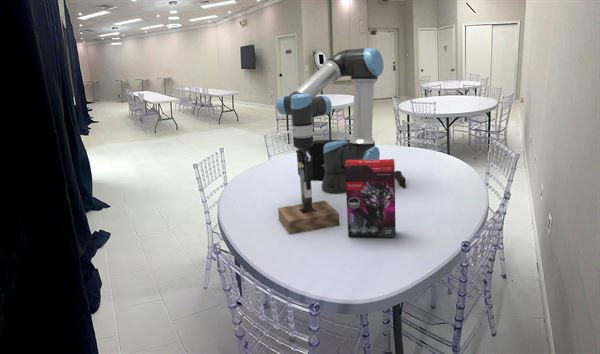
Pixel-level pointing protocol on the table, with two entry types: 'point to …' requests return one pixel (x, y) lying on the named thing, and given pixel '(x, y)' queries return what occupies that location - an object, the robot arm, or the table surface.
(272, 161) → the table surface
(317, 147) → the black hard case
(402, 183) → the hand tool
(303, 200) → the pin
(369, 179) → the graphics card box
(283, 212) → the hole block
